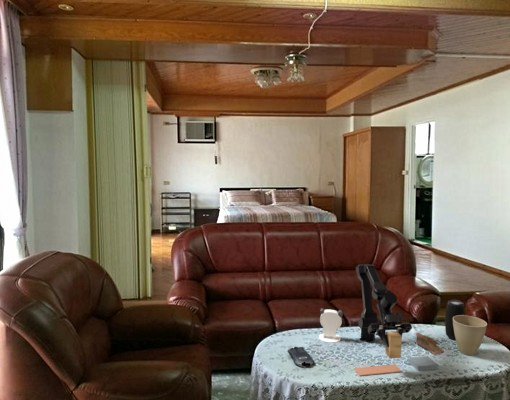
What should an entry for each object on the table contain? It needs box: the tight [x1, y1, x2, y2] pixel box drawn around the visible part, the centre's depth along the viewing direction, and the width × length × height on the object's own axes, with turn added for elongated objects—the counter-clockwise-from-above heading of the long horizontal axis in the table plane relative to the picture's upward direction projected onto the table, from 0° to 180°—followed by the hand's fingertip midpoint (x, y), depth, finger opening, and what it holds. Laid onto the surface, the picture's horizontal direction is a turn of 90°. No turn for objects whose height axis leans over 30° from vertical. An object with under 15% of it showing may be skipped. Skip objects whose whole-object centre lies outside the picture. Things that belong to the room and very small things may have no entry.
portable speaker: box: [444, 299, 466, 341], centre depth 219 cm, size 9×9×20 cm
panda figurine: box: [318, 307, 344, 343], centre depth 218 cm, size 12×11×15 cm
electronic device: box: [287, 346, 314, 369], centre depth 195 cm, size 9×6×15 cm
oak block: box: [384, 330, 403, 359], centre depth 184 cm, size 5×5×10 cm
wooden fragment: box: [415, 332, 445, 356], centre depth 213 cm, size 26×11×1 cm, turn 175°
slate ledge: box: [407, 356, 439, 372], centre depth 190 cm, size 10×8×2 cm
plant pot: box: [453, 314, 488, 356], centre depth 202 cm, size 15×15×16 cm
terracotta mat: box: [353, 364, 403, 377], centre depth 185 cm, size 20×6×1 cm, turn 101°
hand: (394, 346), depth 182 cm, fingers closed on oak block, 5 cm apart
